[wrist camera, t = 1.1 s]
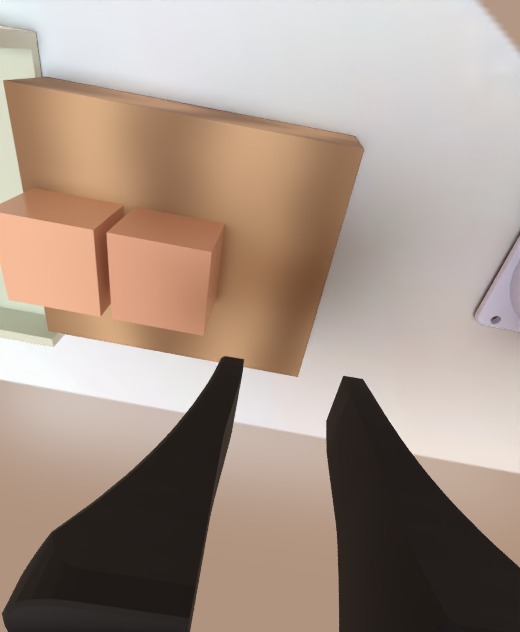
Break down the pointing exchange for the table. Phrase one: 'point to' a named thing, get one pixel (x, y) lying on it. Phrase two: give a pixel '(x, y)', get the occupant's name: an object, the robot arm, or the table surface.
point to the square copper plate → (199, 205)
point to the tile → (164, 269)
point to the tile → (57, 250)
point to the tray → (17, 183)
